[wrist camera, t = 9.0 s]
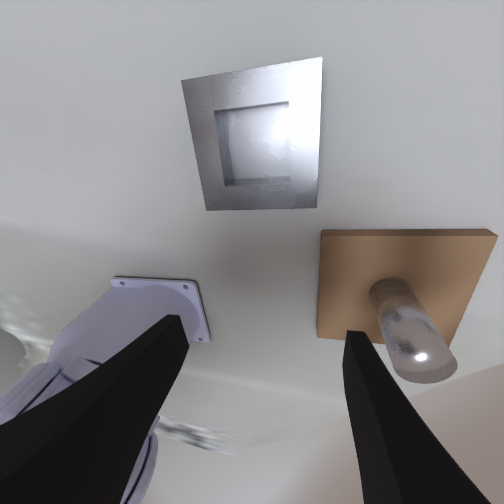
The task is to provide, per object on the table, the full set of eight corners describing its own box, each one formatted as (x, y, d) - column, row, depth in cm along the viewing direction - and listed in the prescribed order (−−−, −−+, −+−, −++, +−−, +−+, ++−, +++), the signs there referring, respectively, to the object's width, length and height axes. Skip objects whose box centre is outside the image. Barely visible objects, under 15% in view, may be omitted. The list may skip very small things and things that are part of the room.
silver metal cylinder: (370, 309, 18) (394, 383, 13) (367, 280, 17) (392, 348, 12) (412, 306, 17) (455, 384, 12) (411, 275, 16) (459, 346, 11)
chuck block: (219, 199, 17) (206, 210, 15) (200, 86, 14) (181, 80, 12) (315, 196, 16) (316, 207, 14) (320, 67, 12) (322, 56, 10)
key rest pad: (316, 328, 22) (316, 337, 21) (321, 229, 17) (322, 235, 16) (441, 340, 19) (447, 350, 18) (487, 229, 15) (498, 236, 14)
